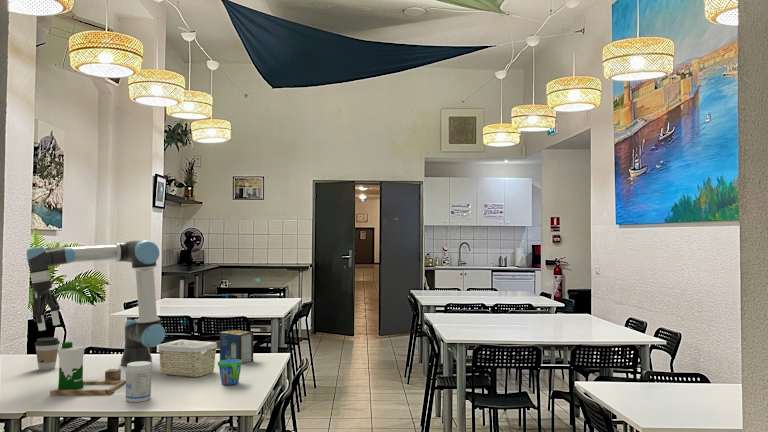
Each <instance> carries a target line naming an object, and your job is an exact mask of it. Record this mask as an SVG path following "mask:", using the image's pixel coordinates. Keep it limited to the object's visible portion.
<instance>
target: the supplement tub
mask: <svg viewBox="0 0 768 432" xmlns="http://www.w3.org/2000/svg"><path fill="white" fill-rule="evenodd" d="M152 368H153V367H152V363H151V362H147V361H138V362H131V363H128V364H127V366H126V370H125V371H126V372H125V373H126V376H125V377H126V378H125V381H126V384H125V400H126V402H128V403H129V402H130V403H142V402H147V401H149V400H150V399H151V398H152Z"/></svg>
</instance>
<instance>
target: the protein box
mask: <svg viewBox="0 0 768 432" xmlns="http://www.w3.org/2000/svg"><path fill="white" fill-rule="evenodd" d="M227 359H239V360H242V364H246V363H245V362H247V363H251V362H254V331H245V330H237V329H232V330H226V331H219V361H221V360H227ZM250 361H251V362H250Z"/></svg>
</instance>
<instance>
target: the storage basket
mask: <svg viewBox="0 0 768 432" xmlns="http://www.w3.org/2000/svg"><path fill="white" fill-rule="evenodd" d="M217 348H218V344H217V342H215V341H214V342H213V341H202V340H201V341H200V340H188V339H177V340H173V341H168V342H164V343H160V344H159V345H158V348H157V349H158V351H159V367H160V368H159V369H160V374H161V373H162V374H166V375H169V376H173V377H174V376H176V377H177V376H179V377H189V378H197V377H202V376H204V375H207V374H211V373H213V372H214V371H215V366H216V365H215V364H216V354H217V353H216V352H217Z"/></svg>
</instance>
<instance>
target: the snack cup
mask: <svg viewBox="0 0 768 432" xmlns="http://www.w3.org/2000/svg"><path fill="white" fill-rule="evenodd" d="M242 364H243V363H242V360H239V359H227V360H221V361H220V360H219V361H218V362H217V365H218V369H219V376H220V382H221V385H223V384H224V386H232V385H231V384H234V385H237V384H239V381H240V375H241V369H242Z"/></svg>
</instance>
